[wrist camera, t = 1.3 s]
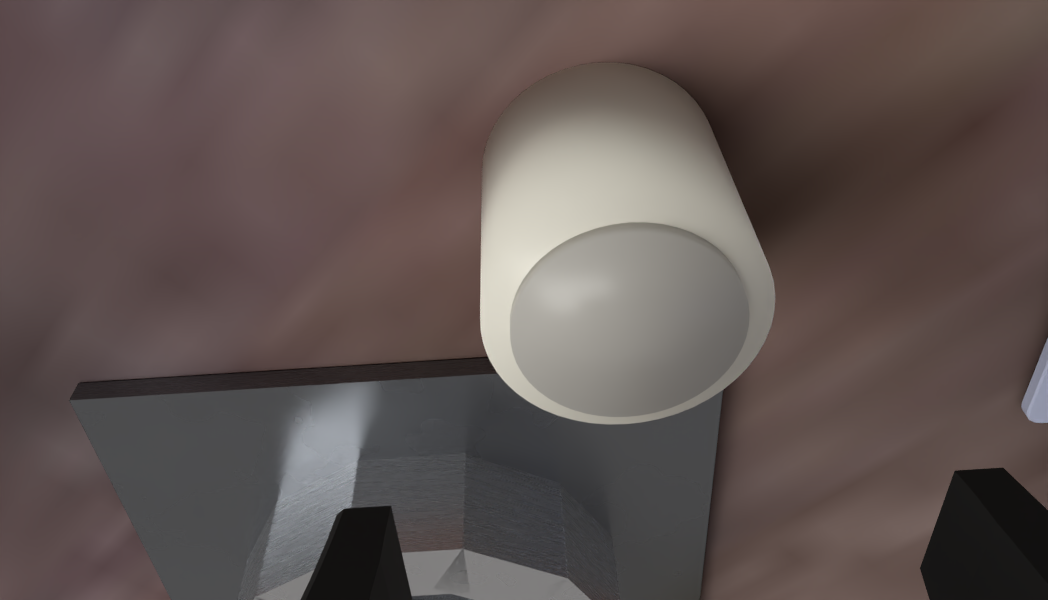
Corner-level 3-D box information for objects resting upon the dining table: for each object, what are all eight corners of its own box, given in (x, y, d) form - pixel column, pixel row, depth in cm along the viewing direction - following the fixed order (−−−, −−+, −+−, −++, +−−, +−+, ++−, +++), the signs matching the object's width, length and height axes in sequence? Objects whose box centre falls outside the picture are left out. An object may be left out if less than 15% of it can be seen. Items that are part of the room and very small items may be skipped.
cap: (725, 53, 18) (798, 194, 14) (707, 260, 21) (762, 427, 17) (471, 70, 18) (466, 216, 14) (491, 274, 21) (492, 444, 17)
